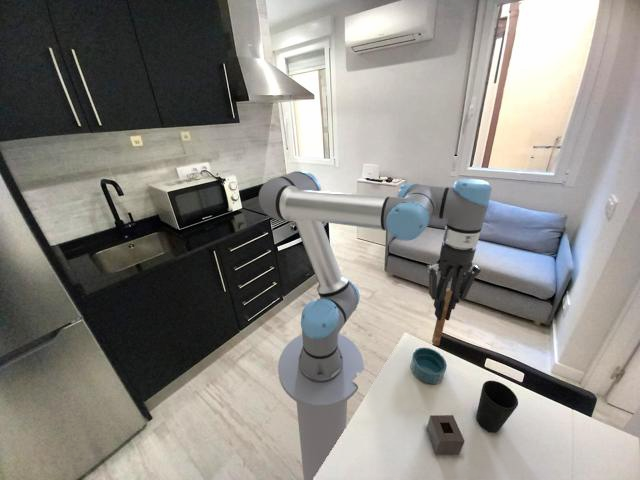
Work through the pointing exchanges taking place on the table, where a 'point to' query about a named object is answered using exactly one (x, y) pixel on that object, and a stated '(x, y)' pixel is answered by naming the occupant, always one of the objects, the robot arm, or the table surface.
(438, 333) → the stick
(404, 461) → the table surface
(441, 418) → the holder
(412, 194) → the robot arm
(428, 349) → the bowl
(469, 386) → the table surface
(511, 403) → the cup
